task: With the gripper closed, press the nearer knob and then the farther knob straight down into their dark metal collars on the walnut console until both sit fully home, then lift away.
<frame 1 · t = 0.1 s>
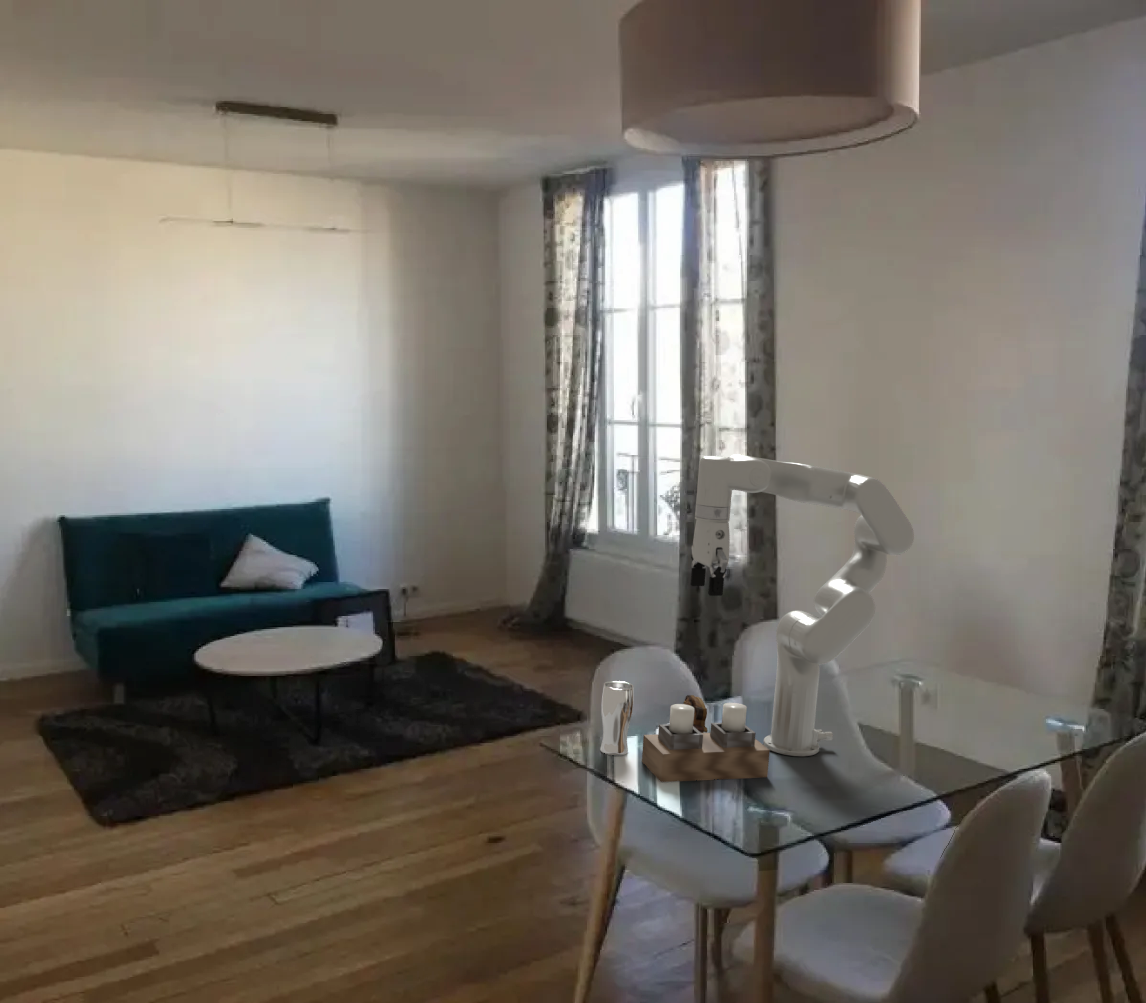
hand: (706, 590, 259), 37 cm above the table, tool pointing down, fingers open, 9 cm apart
wooden carving: (688, 740, 273), on the table
knob 1: (681, 719, 250), point 11 cm above the table, slide at 0.0 cm
knob 2: (734, 717, 254), point 11 cm above the table, slide at 0.0 cm
console: (703, 769, 253), on the table
beer glass: (613, 752, 261), on the table
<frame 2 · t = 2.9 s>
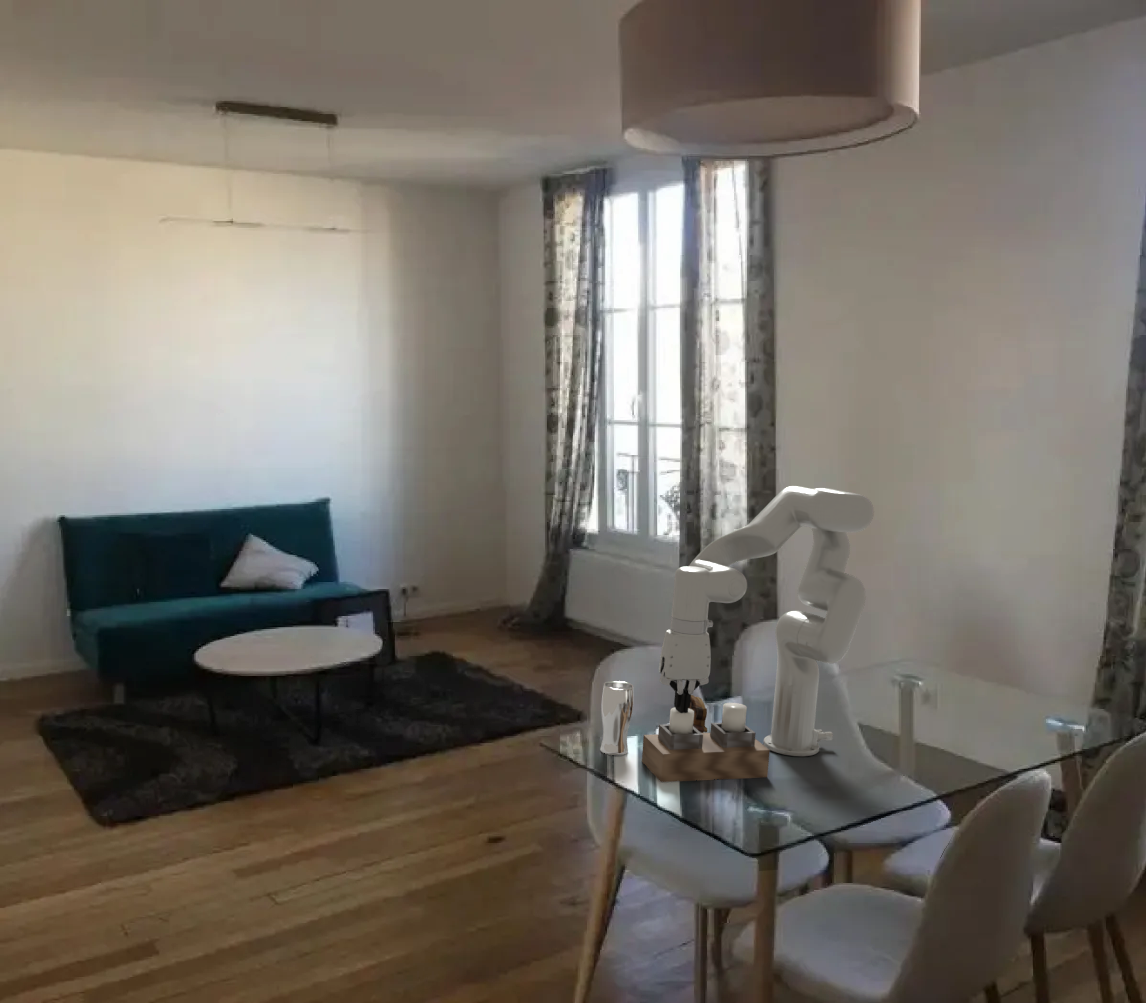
hand: (681, 710, 250), 13 cm above the table, tool pointing down, fingers closed
knob 1: (681, 722, 250), point 11 cm above the table, slide at 0.7 cm, touching gripper
everything else where it was.
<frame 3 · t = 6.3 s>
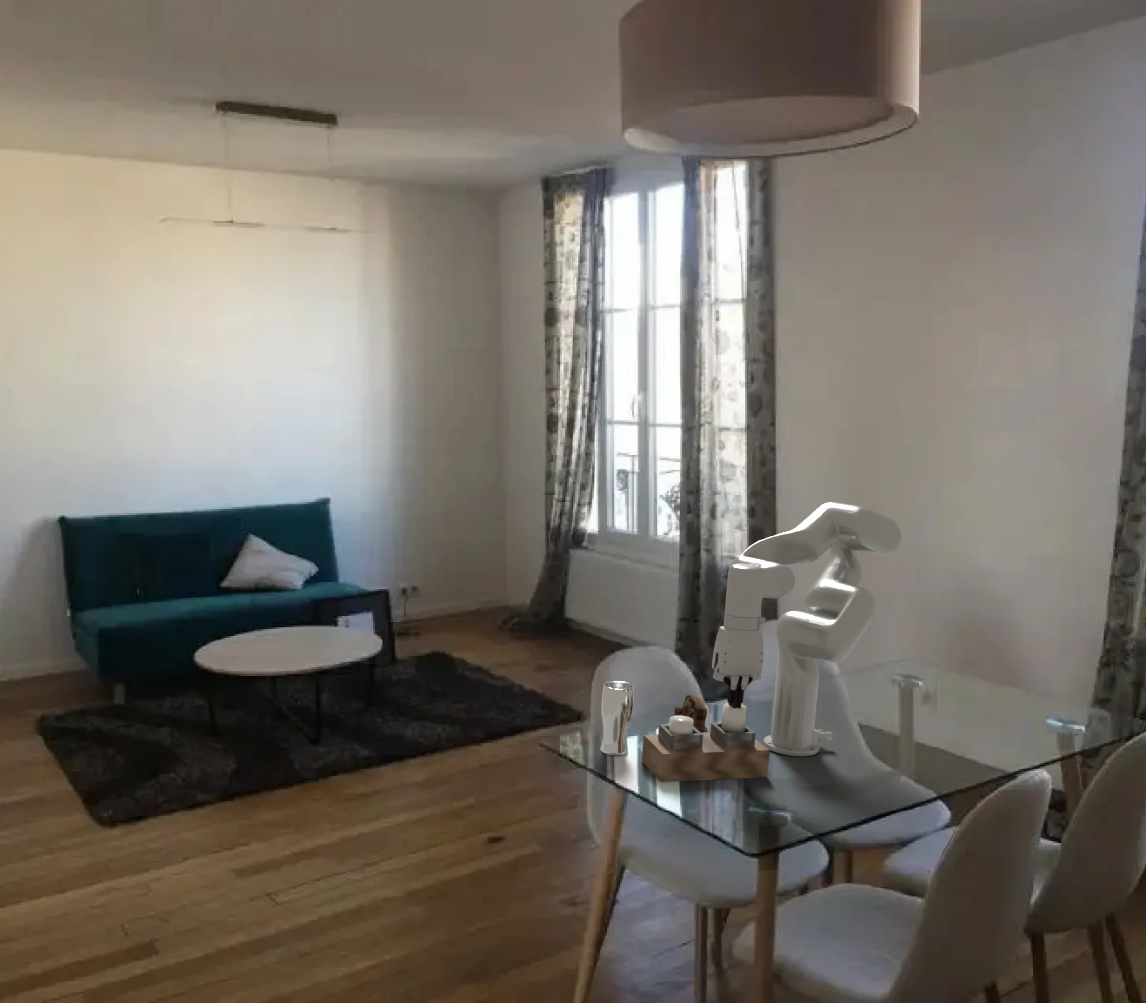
hand: (734, 706, 253), 14 cm above the table, tool pointing down, fingers closed
knob 1: (680, 730, 250), point 9 cm above the table, slide at 2.5 cm
knob 2: (734, 717, 254), point 11 cm above the table, slide at 0.0 cm, touching gripper
everything else where it was.
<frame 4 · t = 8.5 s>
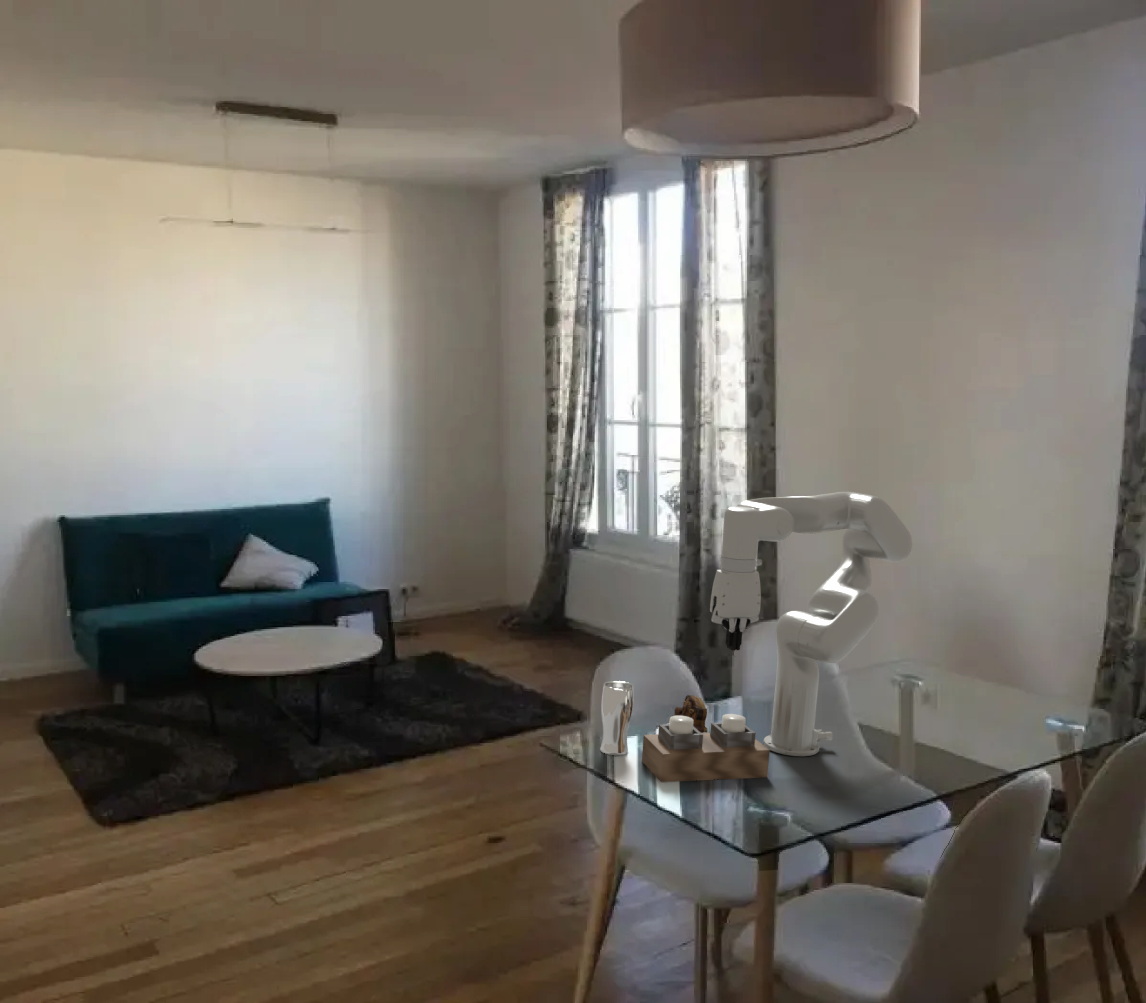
hand: (733, 648, 255), 26 cm above the table, tool pointing down, fingers closed
knob 2: (733, 728, 254), point 9 cm above the table, slide at 2.5 cm
everything else where it was.
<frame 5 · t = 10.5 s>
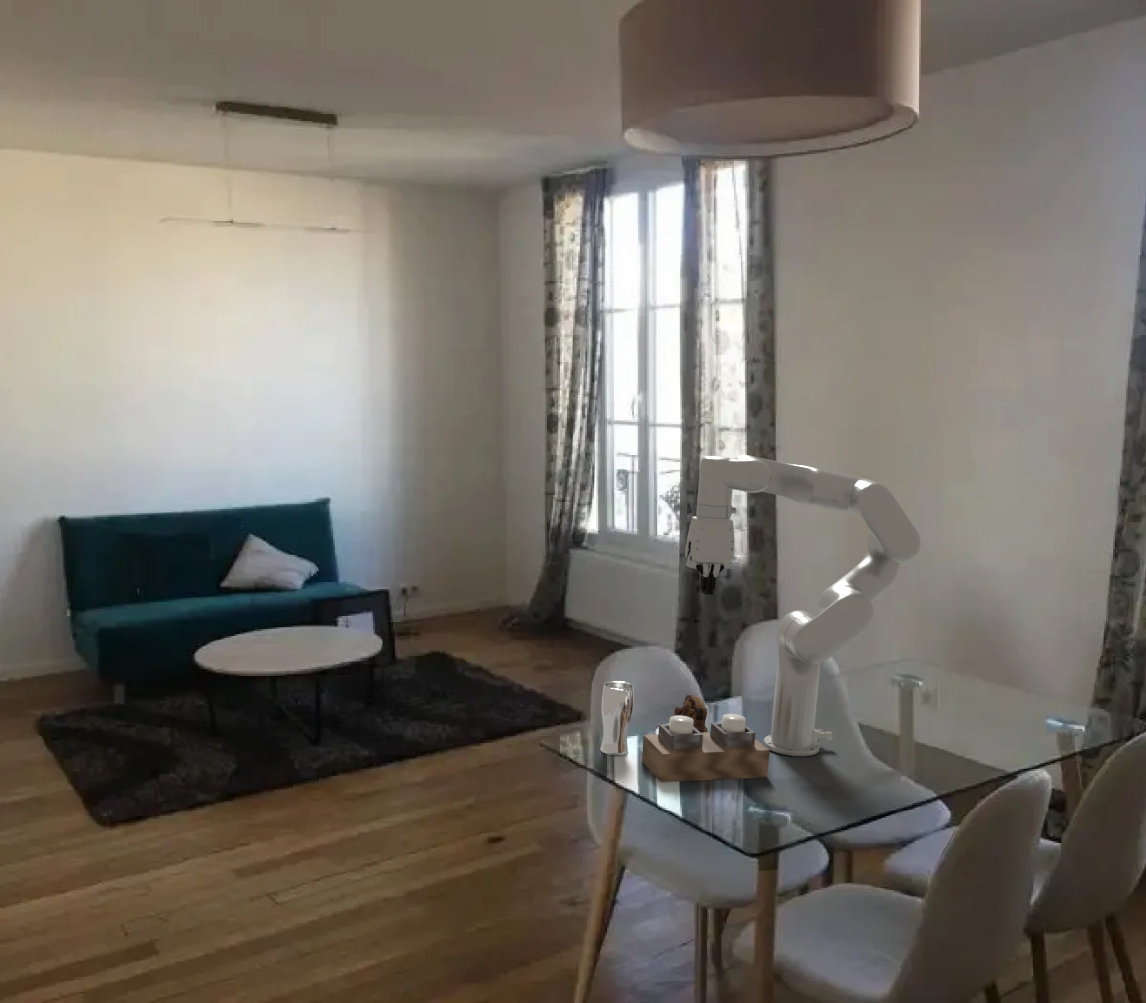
hand: (707, 593, 264), 35 cm above the table, tool pointing down, fingers closed
nothing on the table moved.
at the end: knob 1 slide at 2.5 cm; knob 2 slide at 2.5 cm; beer glass moved 0.2 cm from its start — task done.
